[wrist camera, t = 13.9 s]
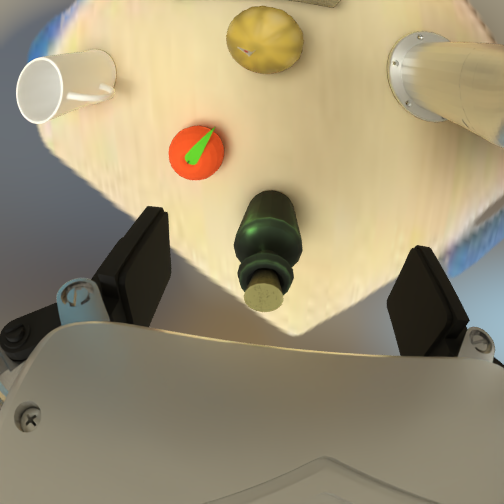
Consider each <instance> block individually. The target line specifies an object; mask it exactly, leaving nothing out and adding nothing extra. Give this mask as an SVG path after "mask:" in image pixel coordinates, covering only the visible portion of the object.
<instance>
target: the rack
mask: <svg viewBox="0 0 504 504" xmlns="http://www.w3.org/2000/svg"><path fill="white" fill-rule="evenodd" d="M291 1H298V2H304V3H310V4H316V5H321V6H327V7H331V8H334V7H335V6H336V5H337V4H338V3H339V2H340V1H341V0H291Z"/></svg>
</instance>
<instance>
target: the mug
mask: <svg viewBox="0 0 504 504" xmlns="http://www.w3.org/2000/svg"><path fill="white" fill-rule="evenodd" d="M115 80H116V67H115V64H114V61H113V60H112V58H111V57H110V56H109V55H108V54H107V53H106V52H104V51H102V50H98V49H92V50H88V51H85V52H76V53H68V54H60V55H52V56H46V57H40V58H36V59H34V60H32V61H31V62H29V63H28V64H27V65H26V66H25V68H24V69H23V71H22V72H21V74H20V76H19V80H18V83H17V89H16V97H17V103H18V107H19V109H20V111H21V113H22V115H23V116H24V117H25V118H26V119H27V120H28V121H30V122H32V123H36V124H41V123H45V122H47V121H49V120H52V119H54V118H56V117H59V116H61V115H64V114H66V113H69V112H71V111H74V110H76V109H79V108H82V107H84V106H87V105H94V104H97V103H100V102H101V101H106V100H109V99H111V98H113V96H114V95H115V90H114V88H113V87H114V84H115Z"/></svg>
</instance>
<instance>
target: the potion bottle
mask: <svg viewBox="0 0 504 504" xmlns="http://www.w3.org/2000/svg"><path fill="white" fill-rule="evenodd" d="M234 249H235V253H236V257H237V258H238V259H239V261H240V262H241V264H240V266H239V269H238V273H237V274H238V278H239V282H240V285H241V288H242V289H243V291H244V292H245V294H244V300H245V303H246V304H247V305H248V306H249V307H250V308H252V309H254V310H256V311H260V312H270V311H273V310H276V309H277V308H278V307H280V306H281V305H282V302H283V295H284V294H285V293H287V292H288V290H289V288H290V286H291V284H292V281H293V279H294V275H293V269H292V267H293V266H294V265H295V264H296V263H297V262H298V261H299V258H300V256H301V253H302V240H301V235H300V231H299V227H298V223H297V219H296V215H295V211H294V207H293V204H292V203H291V201H290V200H289V198H288V197H286V196H285V195H284V194H282V193H279V192H276V191H265V192H262V193H260V194H258V195H256V196H255V197H254V198H253V199H252V201H251V202H250V204H249V206H248V208H247V210H246V213H245V215H244V217H243V220H242V222H241V224H240V227H239V229H238V231H237V234H236V237H235V242H234Z"/></svg>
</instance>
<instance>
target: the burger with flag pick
mask: <svg viewBox="0 0 504 504" xmlns="http://www.w3.org/2000/svg"><path fill="white" fill-rule="evenodd" d="M226 36H227V38H226V40H227V46H228V49H229V52H230V53H231V55H232V57H233V58H234V59H235V60H236V61H237V62H238V63H239V64H240V65H241V66H243V67H244V68H246V69H248V70H250V71H253V72H256V73H261V74H273V73H278V72H281V71H284V70H285V69H287V68H289V67H291V66H292V65H293V64H294V63H295V62H296V61H297V60H298V59H299V58H300V54H301V53H302V47H303V44H304V40H303V33H302V31H301V29H300V28H299V26H298V24H297V23H296V22H295V21H294V19H293V18H292V16H290V15H288V14H287V13H286V12H285V11H283V10H280V9H276V8H273V7H266V6H259V7H251V8H249V9H247V10H244V11H242V12H241V13H240V14H239V15H237V16H236V17H235V18H234V19H233V21H232V22H231V23H230V25H229V28H228V31H227V35H226Z"/></svg>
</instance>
